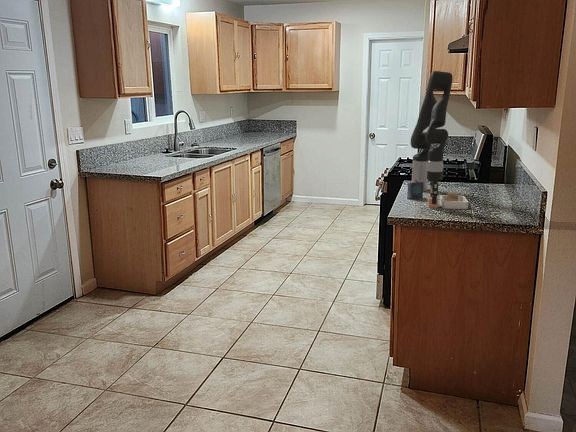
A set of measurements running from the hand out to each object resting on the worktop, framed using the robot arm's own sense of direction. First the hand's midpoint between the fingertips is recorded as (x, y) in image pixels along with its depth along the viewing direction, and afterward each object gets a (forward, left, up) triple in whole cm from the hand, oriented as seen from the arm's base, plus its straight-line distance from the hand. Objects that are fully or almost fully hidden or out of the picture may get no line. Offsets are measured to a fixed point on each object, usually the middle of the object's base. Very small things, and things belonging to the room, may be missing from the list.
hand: (433, 202), depth 250 cm
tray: (-5, +10, -2) cm, 12 cm away
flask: (-20, -8, -3) cm, 22 cm away
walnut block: (-8, +10, -1) cm, 13 cm away
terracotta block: (0, 0, -2) cm, 2 cm away
